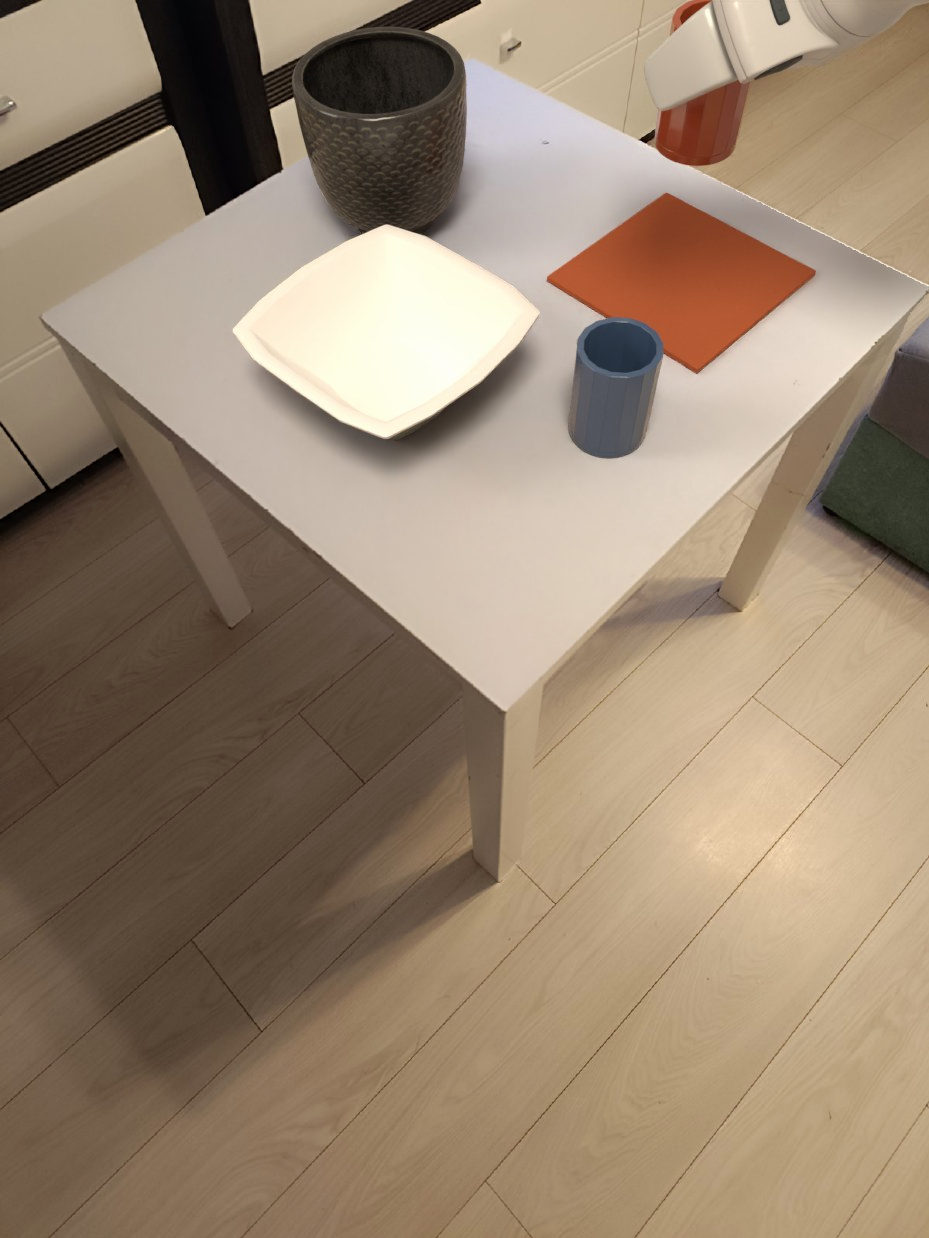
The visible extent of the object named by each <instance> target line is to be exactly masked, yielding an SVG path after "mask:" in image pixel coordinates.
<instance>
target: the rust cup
mask: <svg viewBox="0 0 929 1238" xmlns="http://www.w3.org/2000/svg"><path fill="white" fill-rule="evenodd" d="M711 1H712V0H688V1H686V2H684V3H683V4H682V5H680V6H678V7H677V8H676V9H675V12H674V14H673V15H672V17H671V25H670V31H669V36H670V35H672V34H673V33H674V32H675V31H676V30H677V29H678V28H679V27H680V26H681V25H682V24H683V23H684V22H686V21H687V20H688V19H689V18H690V17H691V16H692V15H694V14H695V13H696V12H697V11H699V10H700V9H701V8H703V7H704V6H705V5H707V4H708V3H709V2H711ZM752 81H753V80H752ZM752 81H750V82H748V83H746V84H741V83H740V82H739V80H737V81H734V82H732V83H729V84H727V85H724V86H722V87H720V88H717V89H715V90H713V91H711V92H708V93H706V94H704V95H702V96H700V97H697V98H695V99H693V100H691V101H689V102H686V103H684V104H682V105H680V106H678V107H675V108H673V109H670V110H667V111H659V110H658V109H657V113H656V114H657V116H656V121H655V128H654V138H653V139H654V140H653V141H654V146H655V149H656V151H658V153H659V154H660V155H662V156H663V157H664V158H665V159H667V160H669V161H671V162H674V163H677V164H680V165H683V166H690V167H703V166H704V167H705V166H710V165H711V166H712V165H715V164H718V163H721V162H723V161H725V160H727V159H728V158H729V157H731V156H732V154H733V153H734V151H735V149H736V146H737V143H738V142H737V141H738V139H739V136H740V132H741V127H742V124H743V119H744V115H745V112H746V108H747V102H748V100H749V99H748V98H749V94H750V90H751V85H752Z"/></svg>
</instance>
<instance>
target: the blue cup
mask: <svg viewBox="0 0 929 1238" xmlns="http://www.w3.org/2000/svg"><path fill="white" fill-rule="evenodd" d="M663 359H664V353H663V342H662V340H661V338H660V337H659V335H658V333H657V332H656V331H655V330H653V329H652V328H651V327H649V326H648V325H647V324H645V323H643V322H640V321H637V320H634V319H631V318H621V317H611V318H603V319H599V320H596V321H594V322H593V323H591V324H589V325H587V326H586V327H584V329H583V330H582V332H581V333H580V335H579V336H578V337H577V342H576V350H575V360H574V368H573V369H574V370H573V381H572V387H571V388H572V389H571V400H570V408H569V418H568V419H569V421H568V433H569V437H570V438H571V440H572V442H573V443H574V444H575V446H576V447H577V448H579V449H580V450H581V451H582V452H584V453H586V454H588V455H590V456H593V457H597V458H601V459H617V458H621V457H625V456H628V455H630V454H632V453H634V452H635V451H636V450H637V449H639V447H641V445H642V444H643V442H644V440H645V437H646V434H647V432H648V428H649V423H650V419H651V414H652V410H653V406H654V405H653V404H654V401H655V400H654V399H655V396H656V391H657V386H658V381H659V377H660V373H661V367H662V363H663Z"/></svg>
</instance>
